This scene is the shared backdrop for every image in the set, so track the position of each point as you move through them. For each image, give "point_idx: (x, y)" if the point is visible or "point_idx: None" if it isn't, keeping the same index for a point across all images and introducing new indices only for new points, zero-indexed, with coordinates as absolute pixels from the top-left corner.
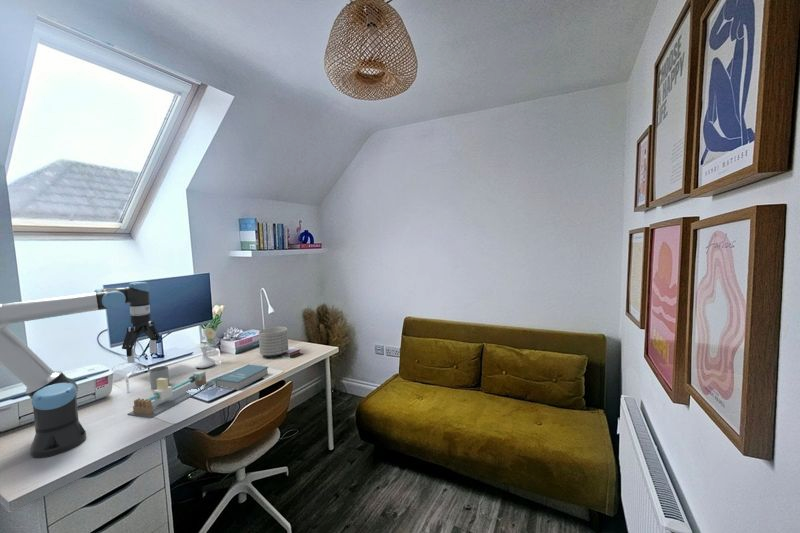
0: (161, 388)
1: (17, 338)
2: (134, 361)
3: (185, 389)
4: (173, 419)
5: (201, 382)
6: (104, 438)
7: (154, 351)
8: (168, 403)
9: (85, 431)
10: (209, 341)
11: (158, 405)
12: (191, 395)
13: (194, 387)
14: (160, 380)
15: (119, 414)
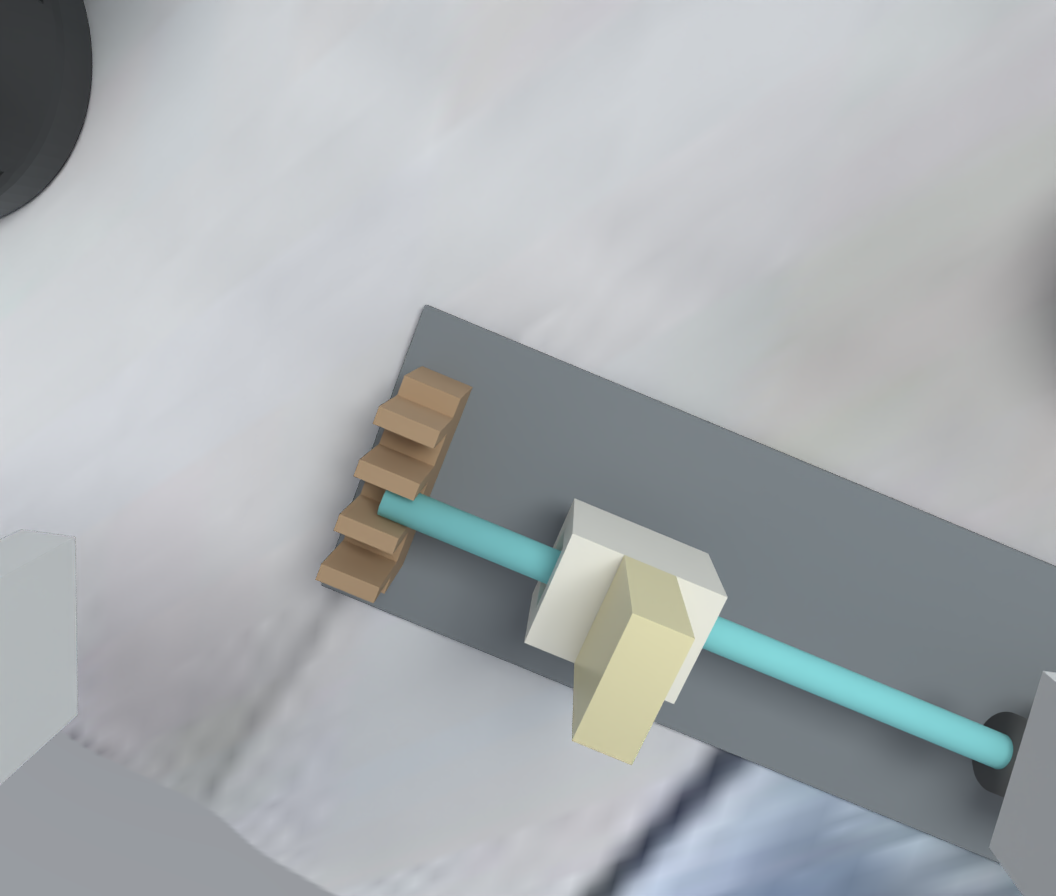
0: (595, 626)
1: None
2: (47, 728)
3: (938, 627)
4: (271, 781)
5: None
6: (19, 378)
7: (1035, 879)
8: None
9: (9, 177)
10: None
11: (559, 529)
12: (738, 755)
13: (969, 704)
14: (600, 676)
15: (457, 201)
